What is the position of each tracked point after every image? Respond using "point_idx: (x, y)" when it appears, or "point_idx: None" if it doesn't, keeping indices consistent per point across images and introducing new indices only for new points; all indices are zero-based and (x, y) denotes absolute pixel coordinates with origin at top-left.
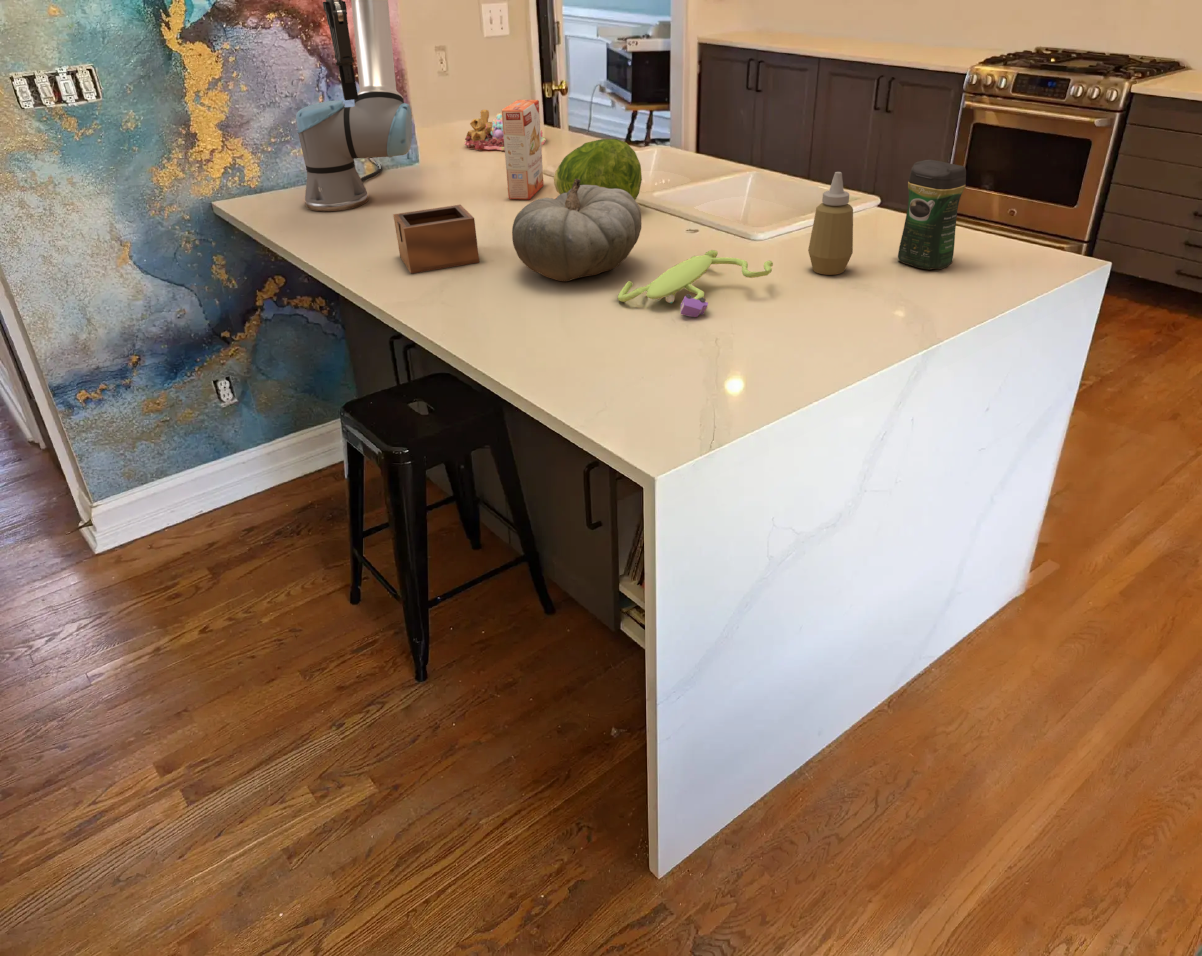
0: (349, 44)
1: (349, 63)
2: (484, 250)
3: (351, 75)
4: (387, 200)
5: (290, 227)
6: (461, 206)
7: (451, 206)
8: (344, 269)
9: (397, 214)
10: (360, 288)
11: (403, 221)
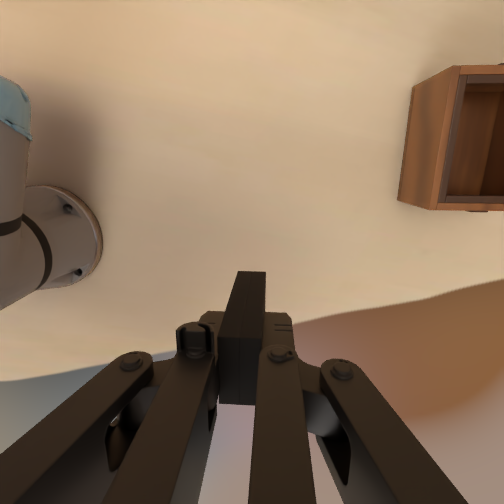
0: (433, 469)
1: (311, 368)
2: (449, 59)
3: (292, 330)
4: (64, 155)
5: (159, 315)
6: (469, 67)
7: (454, 88)
8: (397, 280)
9: (436, 203)
10: (489, 274)
11: (489, 202)
